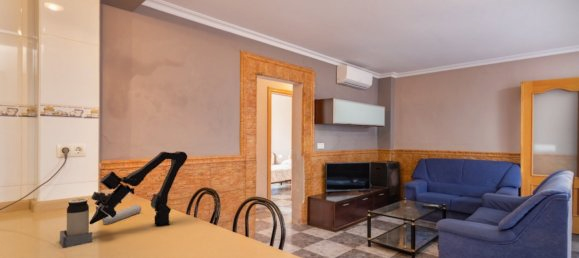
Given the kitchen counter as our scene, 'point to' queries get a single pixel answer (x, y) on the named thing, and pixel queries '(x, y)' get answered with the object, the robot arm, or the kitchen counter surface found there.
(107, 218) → the tube
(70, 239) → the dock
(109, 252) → the kitchen counter surface
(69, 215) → the travel mug
